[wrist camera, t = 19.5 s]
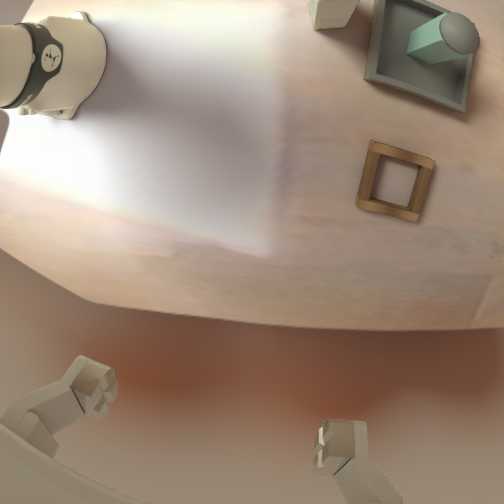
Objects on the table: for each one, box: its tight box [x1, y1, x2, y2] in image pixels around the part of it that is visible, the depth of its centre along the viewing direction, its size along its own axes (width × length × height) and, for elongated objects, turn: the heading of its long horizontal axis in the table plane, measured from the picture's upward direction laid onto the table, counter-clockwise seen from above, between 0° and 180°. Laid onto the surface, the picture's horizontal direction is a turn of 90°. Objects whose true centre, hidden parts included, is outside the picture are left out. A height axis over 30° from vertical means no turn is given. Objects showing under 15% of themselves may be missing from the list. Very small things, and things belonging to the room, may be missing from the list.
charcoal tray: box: [364, 0, 475, 113], centre depth 27 cm, size 14×14×3 cm
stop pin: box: [407, 12, 480, 65], centre depth 23 cm, size 4×4×12 cm
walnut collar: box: [355, 140, 435, 222], centre depth 37 cm, size 9×9×2 cm
